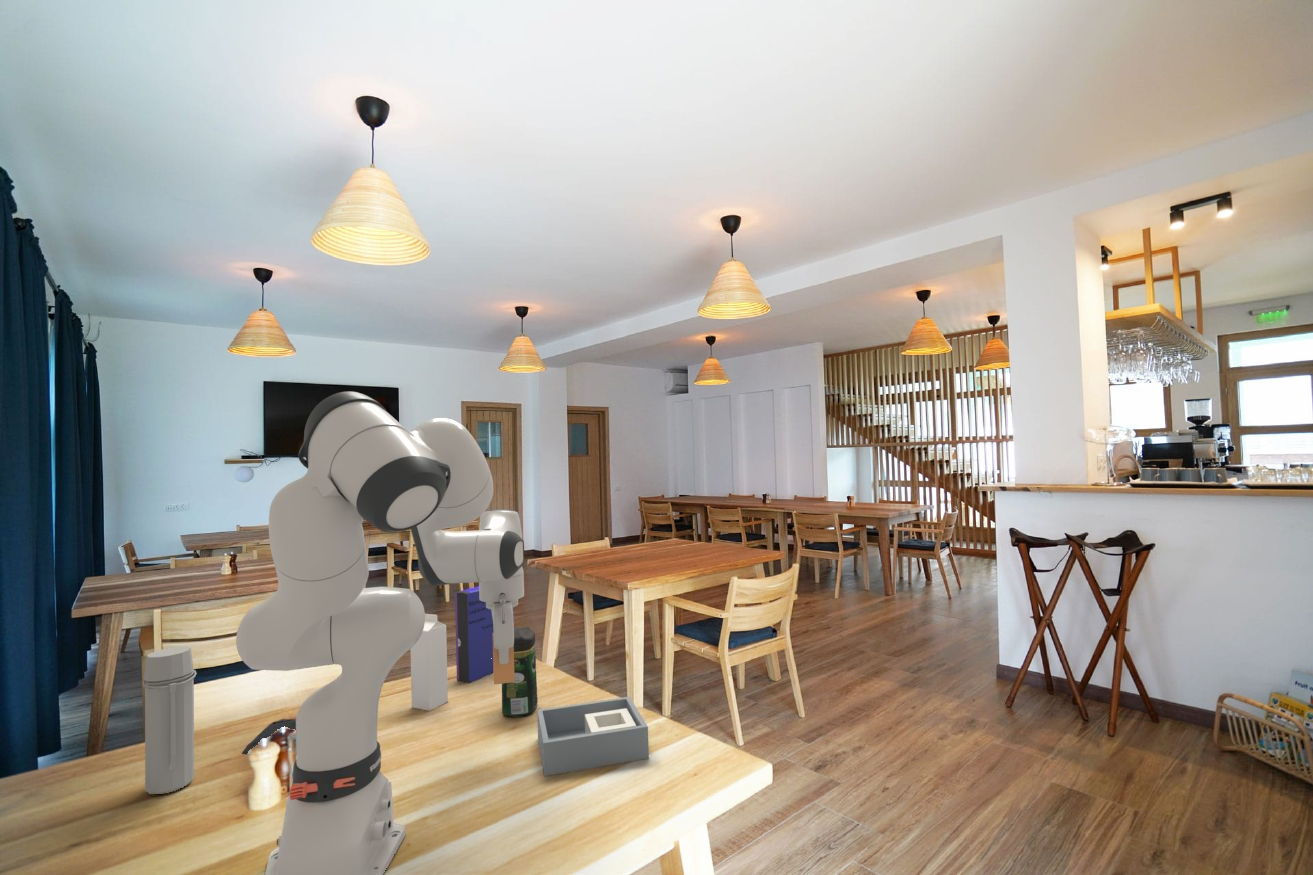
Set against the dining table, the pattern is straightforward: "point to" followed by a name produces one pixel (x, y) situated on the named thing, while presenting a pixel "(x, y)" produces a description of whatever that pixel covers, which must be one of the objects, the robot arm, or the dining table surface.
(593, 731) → the socket
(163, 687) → the water bottle
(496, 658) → the plug
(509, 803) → the dining table surface
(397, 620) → the robot arm
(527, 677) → the coffee jar
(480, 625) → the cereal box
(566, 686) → the dining table surface
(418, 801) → the dining table surface
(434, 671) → the milk
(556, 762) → the bin
